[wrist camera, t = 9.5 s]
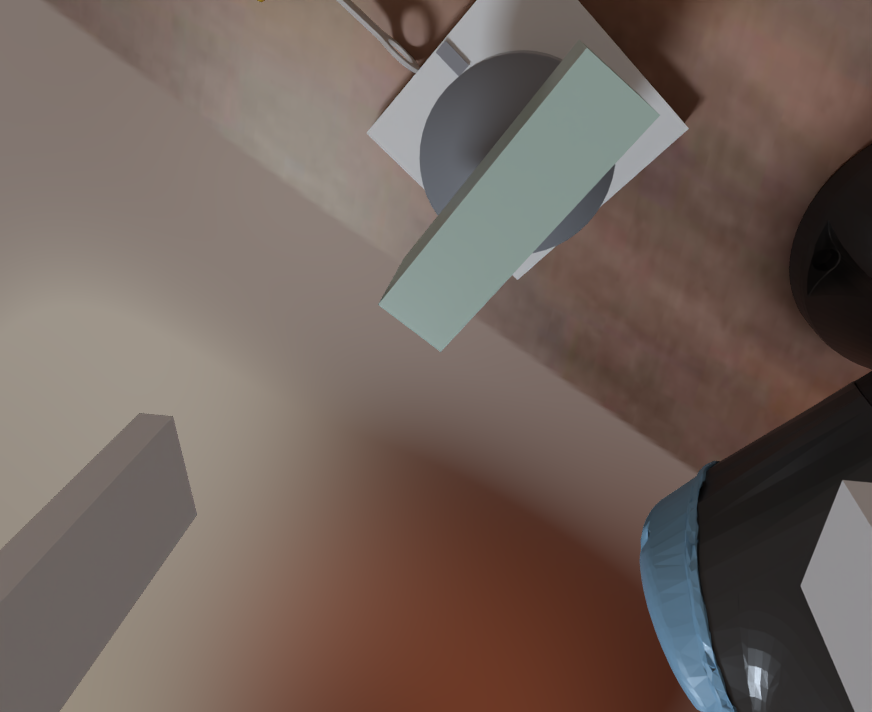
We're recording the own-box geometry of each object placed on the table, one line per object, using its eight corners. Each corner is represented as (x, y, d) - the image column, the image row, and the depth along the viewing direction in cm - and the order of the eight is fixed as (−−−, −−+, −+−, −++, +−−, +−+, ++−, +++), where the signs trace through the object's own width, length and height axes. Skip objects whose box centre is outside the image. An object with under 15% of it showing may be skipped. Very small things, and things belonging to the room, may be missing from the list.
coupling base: (683, 124, 36) (708, 146, 31) (518, 271, 42) (514, 312, 36) (527, -58, 33) (523, -70, 28) (372, 128, 39) (343, 149, 33)
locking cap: (522, -15, 28) (509, -25, 18) (666, 118, 30) (728, 178, 20) (378, 185, 34) (304, 266, 23) (506, 288, 35) (490, 406, 25)
